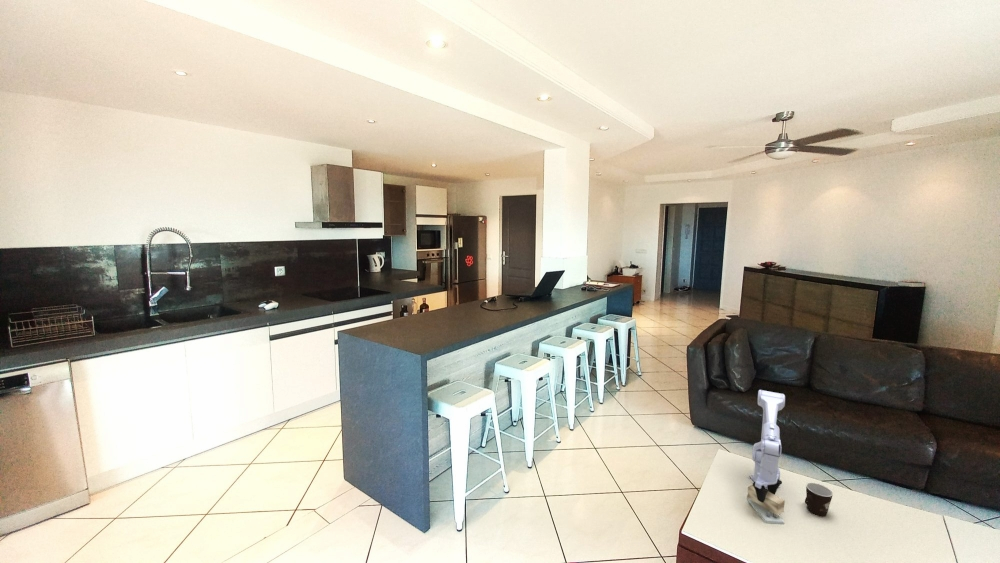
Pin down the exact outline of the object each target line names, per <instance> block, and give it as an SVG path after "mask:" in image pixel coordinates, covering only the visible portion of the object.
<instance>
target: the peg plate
mask: <svg viewBox="0 0 1000 563" xmlns="http://www.w3.org/2000/svg"><path fill="white" fill-rule="evenodd" d="M746 500H747V502H749V504H750V505H751V506H752V507H753V509H754V511H756V513H757V514H758V515H759V517H760V518H761V519H762V520H763V521H764V523H765V524H778V525H779V524H780V525H784V524H785V521H784V520H783V518H782V517H781V516H780V514H779V515H776V514H774V513H773V512H771V511H769V510H768V509H766V508H764V507H763V506H761V505H759V504H758V503H756V502H754V501H753V500H751V499H749V498H747V497H746Z"/></svg>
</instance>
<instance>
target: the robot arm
mask: <svg viewBox="0 0 1000 563" xmlns="http://www.w3.org/2000/svg"><path fill="white" fill-rule="evenodd" d="M757 405H758V406H759V407H761V408H762V412H763V413H762V424H761V435H760V438H761V439H760V441H759V442H755V443H754V444H753V448H752V456H751V460H752V461H753V462H754V469H753V474H749V477H750V479H751V480H752V481H753V482H752V484H753V487H754V488H755V491H756V494H757V499H758V500H759V501H760V502H762V503H763V502H764V501H765V497H766V494H767V493H768V491H769V492H771V493H772V494H774V495H776V493H777V491H778V488H781V485H782V484H783V482H782V480H781V470H780V468H779V459H780V457H781V455H782V442H781V436H780V434H781V432H780V431H781V430H780V427H779V426H778V424H777V419H778V412H779V411H782V410H783V409H784V408H785V406H786V395H785V394H784V393H779V392H773V391H770V390H769V391H767V390H763V389H759V390H758V391H757Z"/></svg>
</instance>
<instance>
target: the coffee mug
mask: <svg viewBox="0 0 1000 563" xmlns="http://www.w3.org/2000/svg"><path fill="white" fill-rule="evenodd" d="M805 488H806V491H805V492H806V496H805V499H804V503H805V505H806V510H807V511H808V512H810V513H811V514H812V515H814V516H817V517H820V518H824V517H825V518H826V517H827V515H828V512H829V509H830V505H831V502H832V499H833V495H834V492H833V491H832V490H831V489H830V488H829V487H826V486H824V485H822V484H820V483H818V482H817V483H816V482H807V483H806V485H805Z"/></svg>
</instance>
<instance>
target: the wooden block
mask: <svg viewBox="0 0 1000 563" xmlns="http://www.w3.org/2000/svg"><path fill="white" fill-rule="evenodd" d="M747 498H749V499H751V500H753V501H754V502H756V503H758V504H759V505H761V506H763V507H764V508H766V509H768V510H769V511H771V512H773V513H774V514H776V515H779V516H780V514H782V513H784V512H785V503H786V502H785V501H786V500H785V499H783V498H781V497H780V496H777V495H776V494H775V495H774V494H772V493H771V492H769V491H768V493H767V494H766V497H765V501H764V502H763V503H762V502H760V501H759V500H758V499H757V494H756V491H755V488H754V487H753V483H752V484H751V485H748V487H747V495H746V499H747Z"/></svg>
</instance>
